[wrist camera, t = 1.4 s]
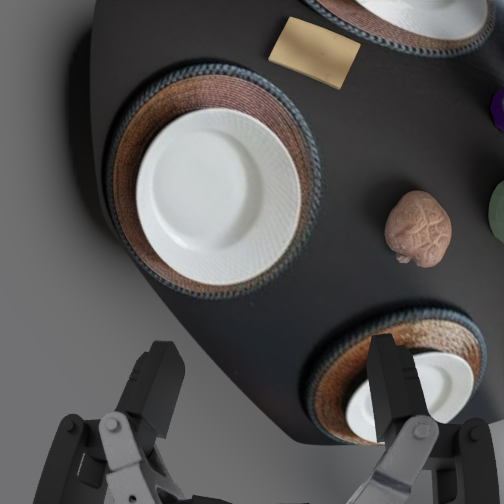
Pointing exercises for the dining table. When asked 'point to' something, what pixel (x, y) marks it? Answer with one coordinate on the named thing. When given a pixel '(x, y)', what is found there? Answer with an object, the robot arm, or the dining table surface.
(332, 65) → the board
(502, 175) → the dining table surface
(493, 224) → the bowl
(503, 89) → the potion bottle
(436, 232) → the brown rounded lump
